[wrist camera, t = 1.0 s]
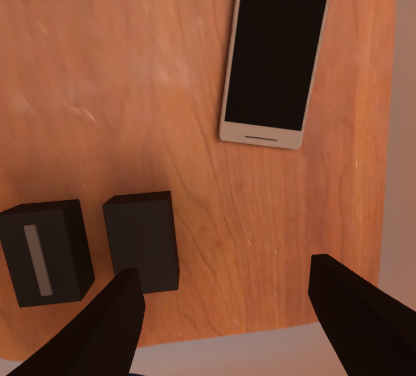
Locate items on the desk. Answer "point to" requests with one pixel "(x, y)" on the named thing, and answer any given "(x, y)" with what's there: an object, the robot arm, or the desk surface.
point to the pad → (144, 238)
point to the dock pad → (47, 252)
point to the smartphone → (271, 71)
